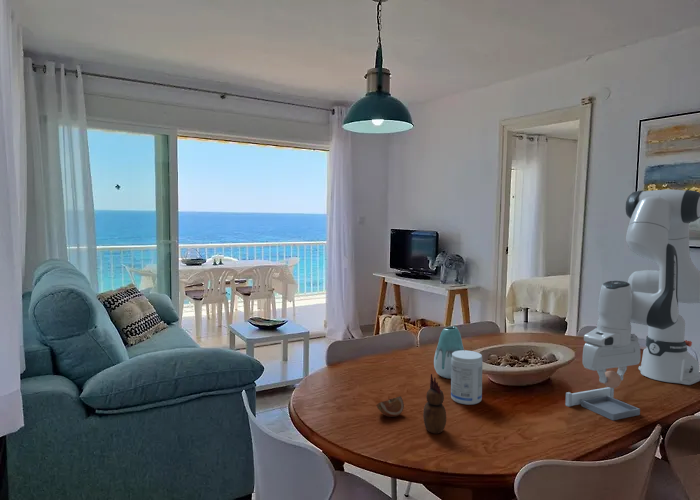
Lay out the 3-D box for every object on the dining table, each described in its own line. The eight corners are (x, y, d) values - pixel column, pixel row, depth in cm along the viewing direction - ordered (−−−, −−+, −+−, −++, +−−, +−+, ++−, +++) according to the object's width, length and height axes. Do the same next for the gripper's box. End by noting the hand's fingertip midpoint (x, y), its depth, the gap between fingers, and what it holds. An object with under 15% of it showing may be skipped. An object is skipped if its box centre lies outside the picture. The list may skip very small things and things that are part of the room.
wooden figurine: (420, 425, 128) (421, 372, 127) (441, 424, 128) (442, 371, 127) (426, 436, 121) (428, 380, 120) (448, 436, 121) (449, 380, 120)
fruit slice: (385, 423, 129) (385, 405, 129) (371, 414, 134) (371, 398, 134) (408, 416, 134) (408, 399, 133) (393, 408, 139) (393, 392, 139)
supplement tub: (468, 392, 153) (469, 348, 152) (488, 402, 144) (489, 356, 143) (444, 396, 148) (445, 352, 147) (463, 407, 140) (465, 360, 139)
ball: (609, 383, 142) (610, 367, 141) (624, 389, 137) (625, 372, 137) (597, 385, 140) (598, 369, 139) (612, 391, 135) (613, 374, 135)
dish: (606, 401, 146) (607, 395, 146) (639, 414, 136) (640, 408, 136) (580, 405, 142) (581, 400, 142) (612, 420, 132) (613, 414, 132)
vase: (430, 378, 165) (431, 329, 164) (437, 368, 176) (438, 322, 175) (463, 383, 161) (464, 332, 160) (468, 373, 172) (469, 325, 171)
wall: (610, 397, 150) (610, 384, 149) (613, 398, 149) (614, 386, 148) (565, 405, 143) (565, 392, 142) (568, 406, 141) (569, 393, 141)
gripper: (628, 330, 144) (625, 374, 145) (579, 335, 137) (577, 381, 137) (647, 335, 138) (645, 380, 139) (598, 341, 131) (595, 388, 132)
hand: (611, 381), depth 138 cm, fingers closed on ball, 5 cm apart
